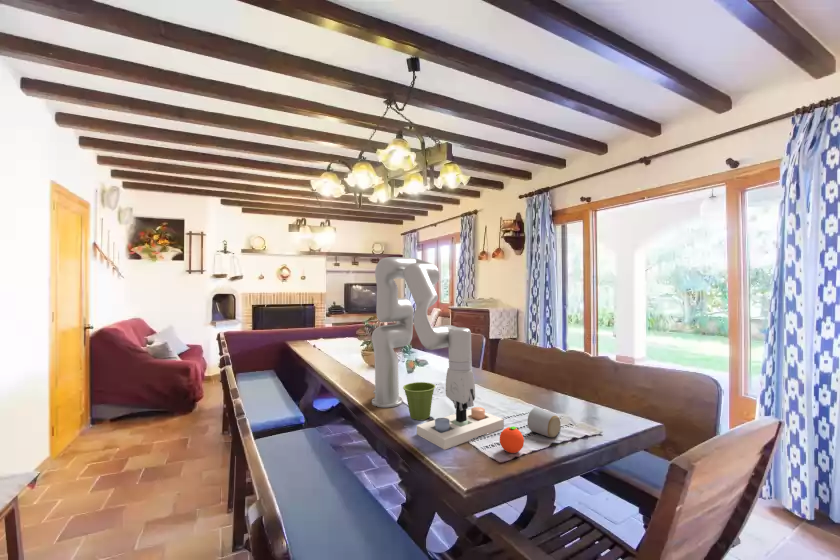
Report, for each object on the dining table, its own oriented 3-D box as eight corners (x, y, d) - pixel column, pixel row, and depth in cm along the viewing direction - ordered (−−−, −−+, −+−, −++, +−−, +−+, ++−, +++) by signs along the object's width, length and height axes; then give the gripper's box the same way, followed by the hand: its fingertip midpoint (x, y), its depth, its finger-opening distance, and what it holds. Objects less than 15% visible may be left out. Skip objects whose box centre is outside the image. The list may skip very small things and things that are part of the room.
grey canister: (549, 441, 118) (549, 416, 118) (526, 433, 124) (526, 409, 124) (567, 432, 125) (567, 409, 125) (545, 425, 131) (545, 403, 131)
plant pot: (423, 409, 149) (423, 380, 149) (442, 418, 139) (441, 387, 139) (397, 415, 142) (397, 385, 142) (415, 425, 132) (414, 393, 132)
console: (416, 434, 125) (416, 425, 125) (474, 416, 140) (474, 408, 140) (444, 449, 114) (444, 439, 114) (503, 428, 129) (503, 419, 129)
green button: (451, 429, 127) (451, 420, 127) (461, 426, 130) (461, 417, 130) (460, 434, 124) (460, 424, 124) (470, 430, 126) (470, 421, 126)
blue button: (432, 429, 123) (432, 419, 123) (443, 426, 125) (443, 416, 125) (441, 434, 119) (441, 424, 119) (452, 430, 122) (452, 420, 122)
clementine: (508, 443, 117) (507, 420, 117) (529, 449, 113) (529, 425, 113) (495, 452, 111) (495, 428, 111) (517, 459, 107) (517, 434, 107)
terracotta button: (468, 418, 132) (468, 409, 132) (478, 415, 135) (478, 406, 135) (478, 422, 128) (478, 412, 128) (487, 419, 131) (487, 409, 131)
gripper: (437, 363, 130) (438, 417, 131) (467, 371, 118) (468, 430, 119) (453, 360, 135) (454, 412, 135) (484, 367, 123) (485, 424, 123)
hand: (461, 420), depth 127 cm, fingers closed
